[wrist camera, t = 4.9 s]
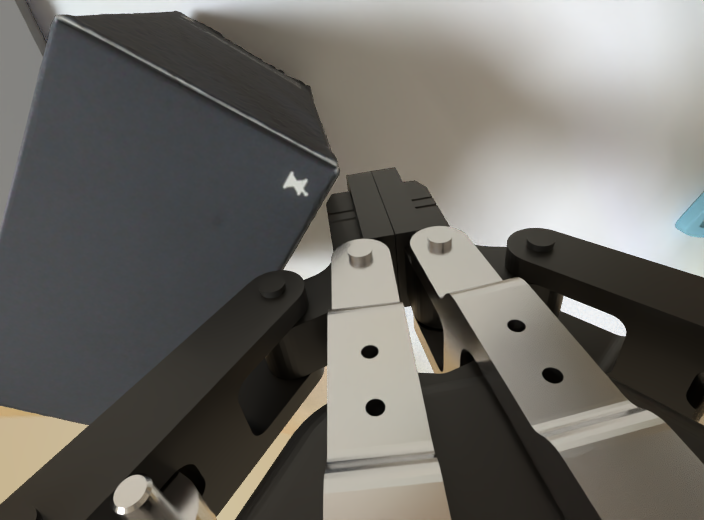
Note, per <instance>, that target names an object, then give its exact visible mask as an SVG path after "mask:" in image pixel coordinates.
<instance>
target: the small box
mask: <svg viewBox="0 0 704 520" xmlns="http://www.w3.org/2000/svg"><path fill="white" fill-rule="evenodd" d="M339 173H340V169H339V166H338V161H337V159H336V157H335V156H334V154H333V153H332V151H331V149H330V145H329V143H328V139H327V136H326V135H325V131H324V129H323V126H322V123H321V121H320V119H319V116H318V113H317V110H316V107H315V105H314V101H313V96H312V92H311V87H310V86H308V85H307V86H306V85H305V84H304V83H303V82H301V81H299V80H296V79H294V78H290V77H288V76H286V75H285V74H284V72H283V71H281V70H277V69H276V68H275V67H274V66H272V65H268V64H267V63H264V62H263V61H262V60H261V59H259V58H256V57H254V56H253V55H252V54H250V53H248V52H247V51H245V50H244V49H243V48H242V47H240V46H237V45H235V44H233V43H232V42H230V41H229V40H227V39H225V38H224V37H223V36H222V34H220V33H219V32H217V31H214V30H213V29H212V28H210V27H207V26H206V25H204V24H202V23H199V22H198V21H196V20H193V19H190V18H189V17H187V16H185V15H184V14H182V13H181V12H178V11H174V12H160V13H134V14H100V15H88V16H71V15H56V16H55V17H54V19H53V21H52V23H51V26H50V31H49V36H48V40H47V43H46V47H45V52H44V56H43V60H42V63H41V66H40V70H39V74H38V78H37V82H36V87H35V91H34V95H33V99H32V103H31V107H30V111H29V115H28V119H27V123H26V127H25V131H24V135H23V139H22V143H21V147H20V151H19V155H18V159H17V163H16V167H15V171H14V175H13V179H12V183H11V187H10V191H9V195H8V199H7V203H6V207H5V211H4V214H3V218H2V222H1V226H0V406H4V407H9V408H14V409H18V410H22V411H26V412H31V413H37V414H40V415H43V416H50V417H55V418H59V419H63V420H67V421H72V422H76V423H81V424H85V425H90V424H91V423H92V422H93V421H95V420H96V419H97V418H98V417H99V416H100V415H101V414H102V413H104V412H105V411H106V410H107V409H108V408H109V407H110V406H111V405H112V404H114V403H115V402H116V401H117V400H118V399H119V398H120V397H121V396H123V395H124V394H125V393H126V392H127V391H128V390H129V389H130V388H132V387H133V386H134V385H135V384H136V383H137V382H138V381H139V380H141V379H142V378H143V377H144V376H145V375H146V374H147V373H148V372H150V371H151V370H152V369H153V368H154V367H155V366H156V365H157V364H159V363H160V362H161V361H162V360H163V359H164V358H165V357H166V356H168V355H169V354H170V353H171V352H172V351H173V350H174V349H175V348H176V347H178V346H179V345H180V344H181V343H182V342H183V341H184V340H185V339H187V338H188V337H189V336H190V335H191V334H192V333H193V332H194V331H196V330H197V329H198V328H199V327H200V326H201V325H202V324H203V323H205V322H206V321H207V320H208V319H209V318H210V317H211V316H212V315H214V314H215V313H216V312H217V311H218V310H219V309H220V308H221V307H223V306H224V305H225V304H226V303H227V302H228V301H229V300H230V299H232V298H233V297H234V296H235V295H236V294H237V293H238V292H239V291H241V290H242V289H243V288H244V287H245V286H246V285H247V284H248V283H249V282H251V281H252V280H253V279H255V278H256V277H258V276H260V275H262V274H265V273H268V272H271V271H278V270H283V269H284V267H285V266H286V264H287V262H288V261H289V259H290V258H291V256H292V254H293V253H294V251H295V249H296V248H297V246H298V244H299V242H300V241H301V239H302V237H303V235H304V234H305V232H306V230H307V229H308V227H309V225H310V223H311V221H312V220H313V218H314V217H315V215H316V213H317V211H318V209H319V208H320V206H321V205H322V202H323V201H324V199H325V197H326V196H327V194H328V192H329V191H330V189H331V187H332V186H333V184H334V182H335V181H336V179H337V177H338V175H339Z"/></svg>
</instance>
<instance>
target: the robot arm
mask: <svg viewBox="0 0 704 520" xmlns="http://www.w3.org/2000/svg"><path fill="white" fill-rule="evenodd" d="M347 185H348V192H343V193H337V194H332V195H331V197H330V198H329V200H328V202H327V204H326V206H327V212H328V219H329V225H330V232H331V238H332V245H333V251H334V252H333V254H332V258H331V263H330V265H329V266H328V267H327V268H326V269H325V270H323V271H322V272H320V273H319V274H317V275H315V276H313V277H310V278H308V279H305V280H303V279H302V277H301V276H300V275H298V274H297V273H294V272H292V271H286V270H278V271H271V272H268V273H265V274H262V275H260V276H258V277H256V278H255V279H253V280H252V281H251V282H249V283H248V284H247V285H246V286H245V287H244V288H243V289H242V290H241V291H239V292H238V293H237V294H236V295H235V296H234V297H233V298H232V299H230V300H229V301H228V302H227V303H226V304H225V305H224V306H223V307H221V308H220V309H219V310H218V311H217V312H216V313H215V314H214V315H212V316H211V317H210V318H209V319H208V320H207V321H206V322H205V323H203V324H202V325H201V326H200V327H199V328H198V329H197V330H196V331H194V332H193V333H192V334H191V335H190V336H189V337H188V338H187V339H185V340H184V341H183V342H182V343H181V344H180V345H179V346H178V347H176V348H175V349H174V350H173V351H172V352H171V353H170V354H169V355H168V356H166V357H165V358H164V359H163V360H162V361H161V362H160V363H159V364H157V365H156V366H155V367H154V368H153V369H152V370H151V371H150V372H148V373H147V374H146V375H145V376H144V377H143V378H142V379H141V380H139V381H138V382H137V383H136V384H135V385H134V386H133V387H132V388H130V389H129V390H128V391H127V392H126V393H125V394H124V395H123V396H121V397H120V398H119V399H118V400H117V401H116V402H115V403H114V404H112V405H111V406H110V407H109V408H108V409H107V410H106V411H105V412H104V413H102V414H101V415H100V416H99V417H98V418H97V419H96V420H95V421H93V422H92V423H91V424H90V425H89V426H88V427H87V428H86V429H85V430H83V431H82V432H81V433H80V434H79V435H78V436H77V437H76V438H74V439H73V440H72V441H71V442H70V443H69V444H68V445H67V446H65V447H64V448H63V449H62V450H61V451H60V452H59V453H57V454H56V455H55V456H54V457H53V458H52V459H51V460H50V461H49V462H47V463H46V464H45V465H44V466H43V467H42V468H41V469H40V470H38V471H37V472H36V473H35V474H34V475H33V476H32V477H31V478H29V479H28V480H27V481H26V482H25V483H24V484H23V485H22V486H20V487H19V488H18V489H17V490H16V491H15V492H14V493H13V494H11V495H10V496H9V497H8V498H7V499H6V500H5V501H4V502H3V503H1V504H0V520H217V519H216V516H217V515H218V514H219V513H220V511H221V510H222V509H223V508H224V506H225V505H226V504H227V502H228V501H229V499H230V498H231V497H232V496H233V494H234V493H235V491H236V490H237V489H238V488H239V486H240V485H241V484H242V482H243V481H244V480H245V478H246V477H247V476H248V474H249V473H250V472H251V470H252V469H253V468H254V467H255V465H256V464H257V462H258V461H259V460H260V459H261V457H262V456H263V455H264V453H265V452H266V451H267V449H268V448H269V447H270V445H271V444H272V443H273V441H274V440H275V439H276V437H277V436H278V435H279V433H280V432H281V431H282V430H283V428H284V427H285V426H286V424H287V423H288V422H289V420H290V419H291V418H292V416H293V415H294V414H295V412H296V411H297V410H298V408H299V407H300V406H301V404H302V403H303V402H304V400H305V399H306V398H307V396H308V395H309V394H310V393H311V391H312V390H313V389H314V387H315V386H316V385H317V383H318V382H319V381H320V379H321V377H322V375H323V373H324V367H325V366H327V404H326V405H324V406H322V407H321V408H320V409H318V410H317V411H316V412H314V413H313V414H312V415H311V416H310V417H308V418H307V419H306V420H305V421H304V422H303V423H302V424H301V426H300V427H299V428H298V429H297V430H296V431H295V432H294V434H293V435H292V437H291V438H290V439H289V441H288V442H287V444H286V446H285V447H284V448H283V450H282V451H281V453H280V454H279V456H278V457H277V459H276V460H275V462H274V463H273V464H272V466H271V467H270V469H269V470H268V472H267V473H266V475H265V476H264V478H263V479H262V481H261V482H260V484H259V485H258V487H257V488H256V490H255V491H254V493H253V494H252V495H251V497H250V498H249V500H248V501H247V503H246V504H245V506H244V507H243V509H242V510H241V512H240V513H239V515H238V516H237V518H236V519H235V520H704V278H703V277H700V276H697V275H693V274H690V273H687V272H684V271H681V270H677V269H674V268H671V267H668V266H665V265H662V264H658V263H655V262H652V261H649V260H646V259H642V258H639V257H636V256H633V255H630V254H626V253H623V252H620V251H617V250H614V249H610V248H607V247H604V246H601V245H598V244H594V243H591V242H588V241H585V240H582V239H578V238H575V237H572V236H569V235H566V234H562V233H559V232H556V231H553V230H549V229H543V228H528V229H523V230H519V231H517V232H515V233H513V234H512V235H511V236H510V237H509V238H508V240H507V247H488V246H478V245H474V244H473V242H472V241H471V240H470V238H469V237H468V236H467V235H466V234H465V233H464V232H462V231H460V230H458V229H456V228H452V227H450V226H449V225H448V223H447V221H446V220H445V218H444V216H443V215H442V213H441V211H440V209H439V208H438V206H436V203H435V201H434V199H433V198H432V196H431V194H430V192H429V191H428V189H427V187H425V186H423V185H422V184H420V183H418V182H417V181H409V182H402V180H401V178H400V176H399V174H398V172H397V170H396V168H395V167H394V168H388V169H382V170H376V171H370V172H364V173H358V174H352V175H347ZM563 296H566V297H568V298H571V299H573V300H576V301H578V302H581V303H583V304H586V305H588V306H591V307H593V308H596V309H598V310H601V311H603V312H606V313H608V314H611V315H613V316H615V317H616V318H618V319H619V320H620V321H621V322H622V323H623V324H624V326H625V328H626V336H619V335H616V334H613V333H611V332H609V331H606V330H604V329H602V328H599V327H597V326H595V325H592V324H590V323H587V322H585V321H583V320H580V319H578V318H576V317H573V316H571V315H569V314H566V313H564V312H562V311H560V309H561V304H562V300H563ZM408 306H411V307H412V310H413V316H414V329H415V331H416V334H417V336H418V338H419V340H420V342H421V345H422V347H423V349H424V351H425V353H426V356H427V358H428V360H429V362H430V364H431V367H432V369H433V371H434V373H418V372H417V367H416V362H415V357H414V352H413V348H412V343H411V338H410V333H409V328H408V324H407V319H406V314H405V309H404V307H408Z"/></svg>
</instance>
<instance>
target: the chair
mask: <svg viewBox="0 0 704 520" xmlns="http://www.w3.org/2000/svg"><path fill="white" fill-rule="evenodd" d="M675 227H676V228H677V229H678V230H680V231H682V232H683V233H685V234H687V235H689V236H694V237H704V192H703V193H702V195H701V196H700V197H699V198H698V199H697V200H696V201H695V202H694V203H693V204H692V205H691V207H690V208H689V209H688V210H687V211H686V212H685V213H684V214H683V215H682V216H681V218H680V219H679V220H678V221H677V223H676V225H675Z"/></svg>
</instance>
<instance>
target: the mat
mask: <svg viewBox="0 0 704 520" xmlns="http://www.w3.org/2000/svg"><path fill="white" fill-rule="evenodd" d="M45 47H46V41H45V39H44V37H43V35H42V33H41V31H40V29H39V27H38V25H37V23H36V21H35V19H34V17H33V15H32V13H31V11H30V9H29V7H28V5H27V2H26V0H0V226H1V222H2V218H3V214H4V211H5V207H6V203H7V199H8V195H9V191H10V187H11V183H12V179H13V175H14V171H15V167H16V163H17V159H18V155H19V151H20V147H21V143H22V139H23V135H24V131H25V127H26V123H27V119H28V115H29V111H30V107H31V103H32V99H33V95H34V91H35V87H36V82H37V78H38V74H39V70H40V66H41V63H42V60H43V56H44V52H45Z"/></svg>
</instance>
